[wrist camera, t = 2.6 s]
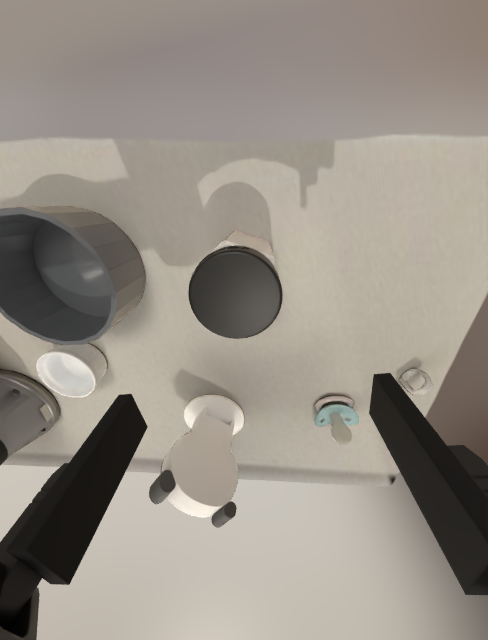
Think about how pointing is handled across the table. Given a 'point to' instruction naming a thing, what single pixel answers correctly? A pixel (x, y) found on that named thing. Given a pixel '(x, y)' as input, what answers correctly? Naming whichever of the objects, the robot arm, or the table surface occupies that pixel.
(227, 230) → the table surface
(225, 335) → the jar
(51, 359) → the ramekin
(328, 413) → the pacifier
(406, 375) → the pale grey ring
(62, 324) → the grey round bowl
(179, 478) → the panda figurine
